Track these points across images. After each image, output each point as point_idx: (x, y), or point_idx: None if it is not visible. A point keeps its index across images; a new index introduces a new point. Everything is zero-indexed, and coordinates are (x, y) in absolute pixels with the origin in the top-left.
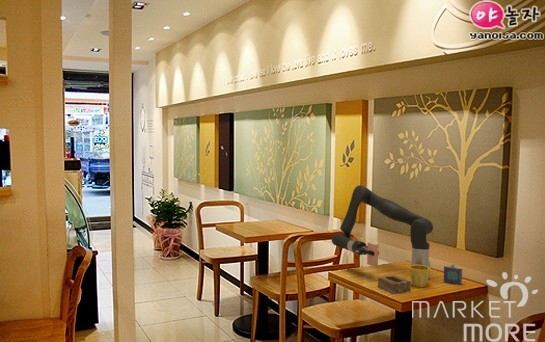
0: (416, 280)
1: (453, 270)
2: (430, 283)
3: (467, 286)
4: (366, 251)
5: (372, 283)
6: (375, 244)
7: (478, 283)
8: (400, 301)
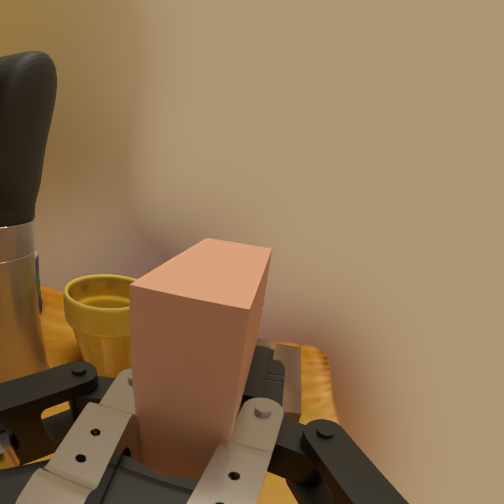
0: None
1: (37, 265)
2: (62, 344)
3: (47, 293)
4: (302, 427)
5: (269, 498)
6: (245, 246)
7: None
8: (319, 349)
